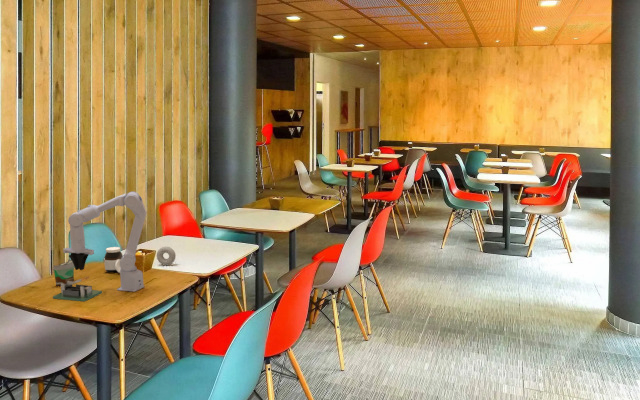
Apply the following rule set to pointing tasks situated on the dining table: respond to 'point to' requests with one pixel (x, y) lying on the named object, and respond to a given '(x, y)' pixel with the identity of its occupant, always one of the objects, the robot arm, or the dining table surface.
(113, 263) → the spread jar
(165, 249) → the donut
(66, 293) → the green base metal fixture
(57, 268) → the food container
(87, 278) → the grey and orange bar
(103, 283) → the dining table surface
